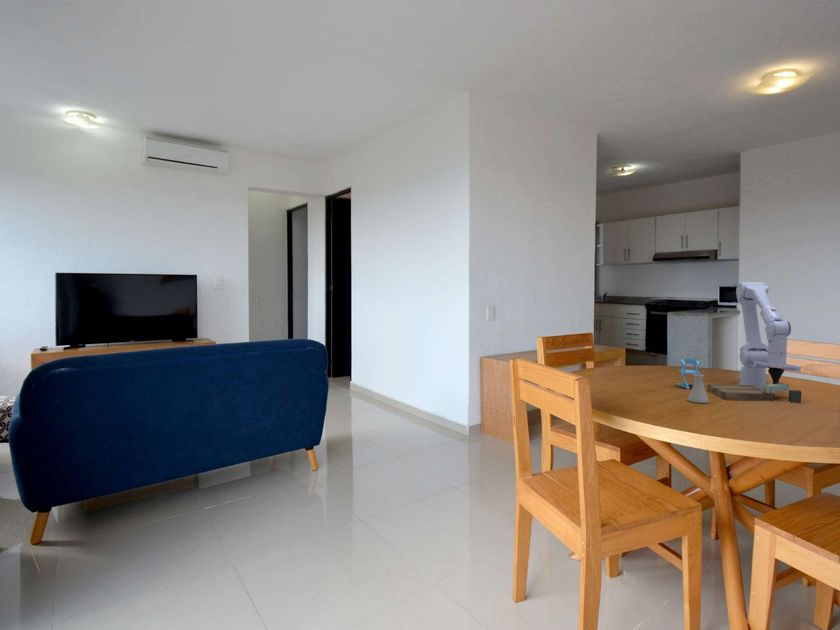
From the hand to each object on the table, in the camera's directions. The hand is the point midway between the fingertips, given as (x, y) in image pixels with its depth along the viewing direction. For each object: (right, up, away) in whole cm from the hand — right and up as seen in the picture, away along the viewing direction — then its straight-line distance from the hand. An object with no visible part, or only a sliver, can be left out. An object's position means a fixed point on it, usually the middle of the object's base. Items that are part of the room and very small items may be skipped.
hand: (775, 387), depth 183 cm
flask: (-33, -5, -5) cm, 33 cm away
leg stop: (+1, -4, -8) cm, 9 cm away
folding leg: (-3, -1, -3) cm, 4 cm away
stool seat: (-12, -3, +3) cm, 13 cm away
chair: (-23, -3, +18) cm, 29 cm away
